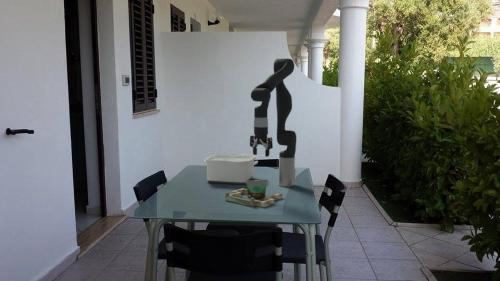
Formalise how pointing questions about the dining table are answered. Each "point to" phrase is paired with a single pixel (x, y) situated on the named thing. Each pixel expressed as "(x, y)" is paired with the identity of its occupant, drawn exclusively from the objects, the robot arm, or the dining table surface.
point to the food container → (256, 188)
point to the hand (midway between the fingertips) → (261, 155)
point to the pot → (230, 168)
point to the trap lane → (238, 193)
